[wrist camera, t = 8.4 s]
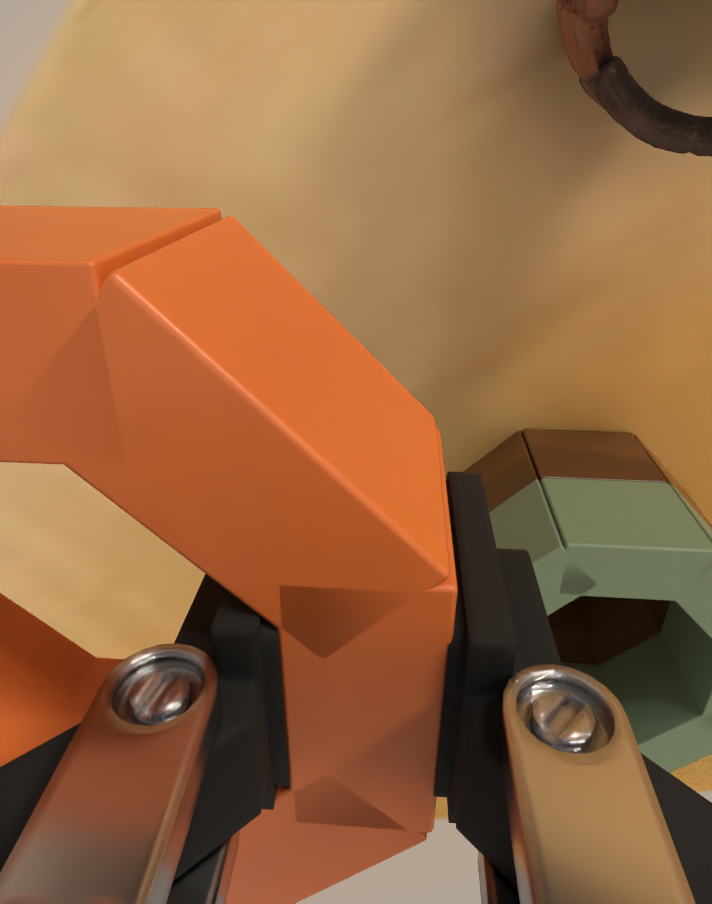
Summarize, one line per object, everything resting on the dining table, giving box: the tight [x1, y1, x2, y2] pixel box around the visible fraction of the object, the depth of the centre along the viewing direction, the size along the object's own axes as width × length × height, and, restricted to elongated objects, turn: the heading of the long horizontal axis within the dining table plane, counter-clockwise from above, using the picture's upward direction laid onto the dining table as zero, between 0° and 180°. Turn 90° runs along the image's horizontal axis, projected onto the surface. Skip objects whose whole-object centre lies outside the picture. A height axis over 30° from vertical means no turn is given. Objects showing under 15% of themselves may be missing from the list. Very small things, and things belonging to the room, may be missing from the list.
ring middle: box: [489, 478, 712, 773], centre depth 22 cm, size 11×11×4 cm
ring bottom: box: [465, 429, 712, 666], centre depth 26 cm, size 11×11×4 cm
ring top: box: [0, 206, 458, 904], centre depth 10 cm, size 11×11×4 cm
